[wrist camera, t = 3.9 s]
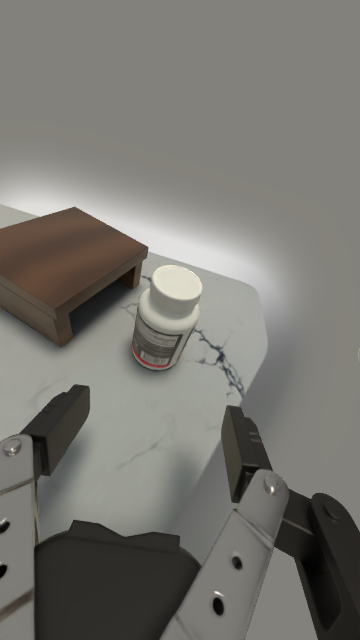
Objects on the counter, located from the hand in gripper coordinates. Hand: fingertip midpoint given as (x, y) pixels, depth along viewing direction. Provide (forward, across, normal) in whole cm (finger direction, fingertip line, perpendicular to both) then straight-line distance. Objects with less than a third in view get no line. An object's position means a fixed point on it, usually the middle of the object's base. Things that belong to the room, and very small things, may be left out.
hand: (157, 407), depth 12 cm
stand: (+15, -13, +3) cm, 20 cm away
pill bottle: (+11, -2, -2) cm, 11 cm away
